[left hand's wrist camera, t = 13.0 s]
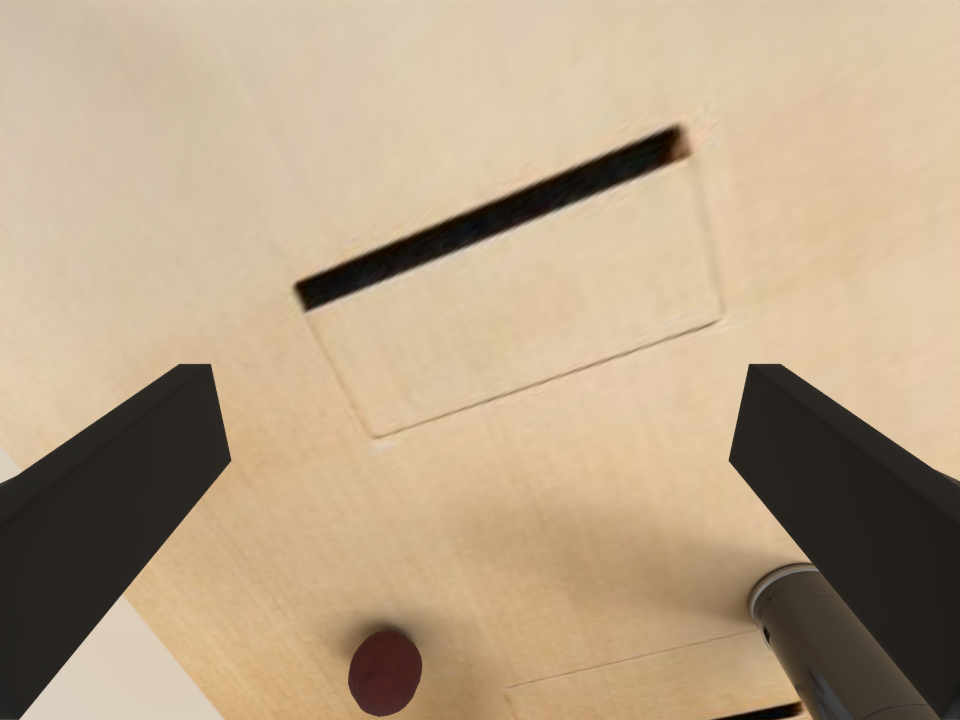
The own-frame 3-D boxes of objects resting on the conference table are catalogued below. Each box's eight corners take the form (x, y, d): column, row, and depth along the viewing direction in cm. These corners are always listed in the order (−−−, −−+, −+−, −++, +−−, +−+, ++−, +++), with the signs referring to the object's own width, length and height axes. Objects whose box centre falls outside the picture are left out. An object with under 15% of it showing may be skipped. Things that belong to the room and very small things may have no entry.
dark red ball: (374, 672, 57) (360, 739, 51) (345, 624, 54) (327, 688, 48) (435, 657, 56) (429, 723, 50) (409, 608, 54) (399, 671, 47)
